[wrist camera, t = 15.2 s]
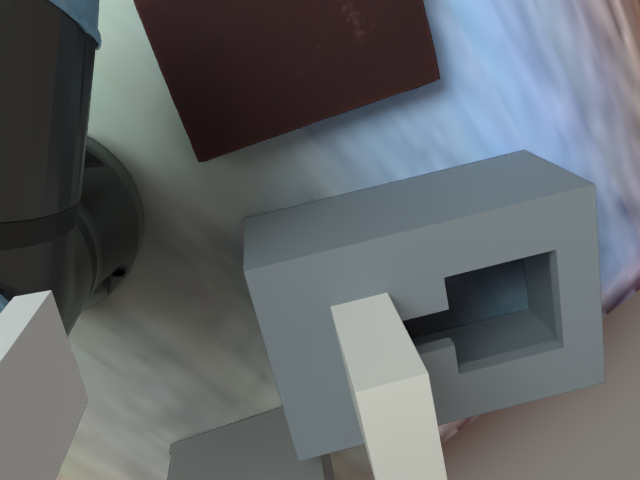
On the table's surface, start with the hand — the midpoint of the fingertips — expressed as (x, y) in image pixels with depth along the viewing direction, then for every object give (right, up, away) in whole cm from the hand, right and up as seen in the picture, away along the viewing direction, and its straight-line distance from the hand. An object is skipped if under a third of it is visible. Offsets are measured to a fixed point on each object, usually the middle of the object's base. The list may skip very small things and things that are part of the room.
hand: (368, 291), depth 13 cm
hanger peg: (+2, -4, +35) cm, 35 cm away
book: (-3, +16, +33) cm, 37 cm away
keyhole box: (+6, -1, +40) cm, 40 cm away
